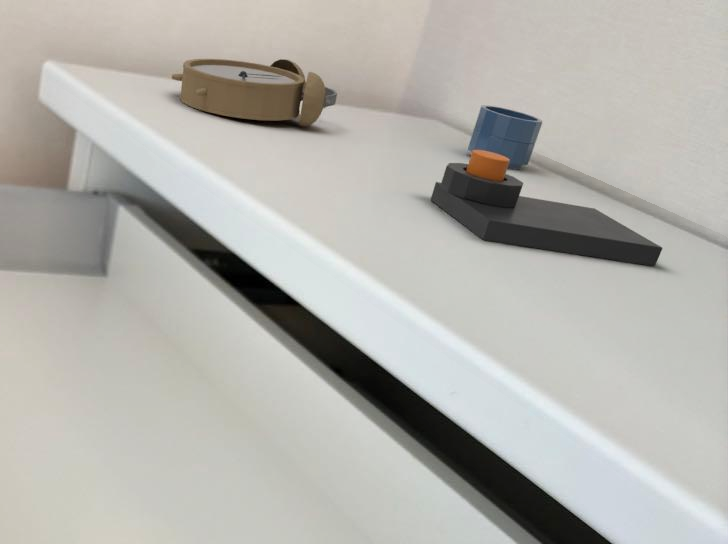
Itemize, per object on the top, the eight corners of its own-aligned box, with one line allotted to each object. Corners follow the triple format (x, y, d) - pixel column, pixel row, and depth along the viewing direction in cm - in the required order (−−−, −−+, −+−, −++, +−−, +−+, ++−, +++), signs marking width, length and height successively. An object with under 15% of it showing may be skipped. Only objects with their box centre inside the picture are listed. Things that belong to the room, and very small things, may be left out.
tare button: (492, 176, 83) (500, 153, 82) (508, 186, 81) (516, 162, 80) (459, 171, 82) (466, 147, 81) (474, 181, 80) (482, 156, 79)
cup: (509, 158, 110) (525, 112, 107) (536, 174, 105) (553, 125, 102) (456, 149, 108) (471, 101, 106) (481, 164, 103) (497, 115, 101)
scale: (586, 224, 88) (600, 186, 87) (655, 266, 80) (672, 225, 78) (424, 198, 84) (436, 158, 83) (478, 239, 76) (493, 196, 74)
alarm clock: (165, 55, 103) (313, 50, 107) (164, 110, 106) (308, 103, 109) (202, 79, 94) (361, 73, 98) (200, 139, 97) (355, 130, 101)
